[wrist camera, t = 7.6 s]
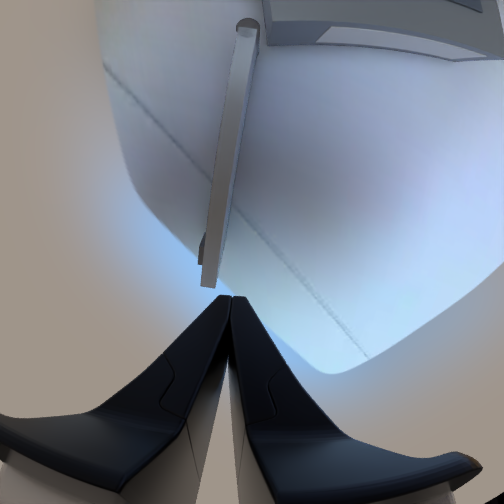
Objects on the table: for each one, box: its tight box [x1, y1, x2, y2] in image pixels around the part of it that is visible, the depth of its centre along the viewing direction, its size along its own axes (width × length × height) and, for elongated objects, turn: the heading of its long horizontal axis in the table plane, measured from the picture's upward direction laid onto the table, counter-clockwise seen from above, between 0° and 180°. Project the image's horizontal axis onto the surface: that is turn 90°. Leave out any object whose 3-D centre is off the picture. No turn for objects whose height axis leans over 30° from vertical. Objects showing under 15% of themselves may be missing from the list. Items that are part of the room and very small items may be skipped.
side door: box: [198, 18, 260, 288], centre depth 16 cm, size 14×1×6 cm, turn 170°
